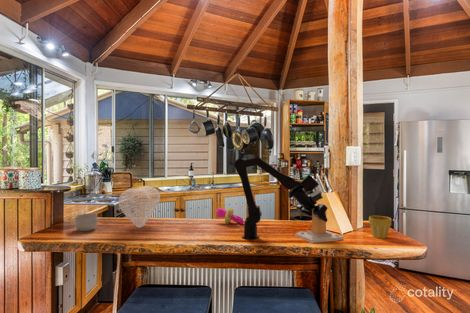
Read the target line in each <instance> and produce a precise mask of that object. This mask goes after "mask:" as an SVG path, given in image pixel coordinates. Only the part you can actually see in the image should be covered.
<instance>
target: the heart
mask: <svg viewBox="0 0 470 313" xmlns="http://www.w3.org/2000/svg"><path fill="white" fill-rule="evenodd" d="M160 202H161V193H160V191H159V190H158V189H157V188H155V187H154V186H151V185H143V186H140V187H138V188H136V187H135V188H129V189H128V188H127V189H126V190H124V191H123V192H122V193H121V194H120V195H119V198H118V206H119V209H120V211H121V212H122V213H123V214H124V215H125V216H126V217H127V218H128V220H130V221H131V223H132V224H134V226H136V227H137V228H138V229H139V228H143V227H144V226H145V225H146V224H147V222H148V220H149V219H150V217H151V216H152V214H153V212H154V211H155V210H156V209H157V207H158V206H159V204H160Z"/></svg>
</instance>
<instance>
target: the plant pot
mask: <svg viewBox="0 0 470 313" xmlns="http://www.w3.org/2000/svg"><path fill="white" fill-rule="evenodd" d="M392 221H393V220H392V218H391V217H389V216H383V215H369V217H368V224H369V225H370V230H371V235H372V238H373V237H374V238H376V239H387V238H388V234H389V230H390V227H391V226H392Z"/></svg>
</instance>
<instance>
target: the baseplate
mask: <svg viewBox="0 0 470 313" xmlns="http://www.w3.org/2000/svg"><path fill="white" fill-rule="evenodd" d="M294 235H295V237H297V238H300V239H302V240H304V241H306V242H308V243H309V244H310V243H311V244H316V243H318V244H319V243H326V242H334V241H343V240H344V236H341V235H340V234H338V233H334V232H331V231H328V230H326V234H319V235H317V234H314V233H312V230H306V231H299V232H295V234H294Z"/></svg>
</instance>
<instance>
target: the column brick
mask: <svg viewBox="0 0 470 313" xmlns="http://www.w3.org/2000/svg"><path fill="white" fill-rule="evenodd" d="M325 214H326V215H327V210H326V211H325ZM311 231H312V233H314V234H317V235H319V234H326V231H327V222H325V221H323V220H321V219H319V218H317V217H315V215H314V214H313V210H312V217H311Z"/></svg>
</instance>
